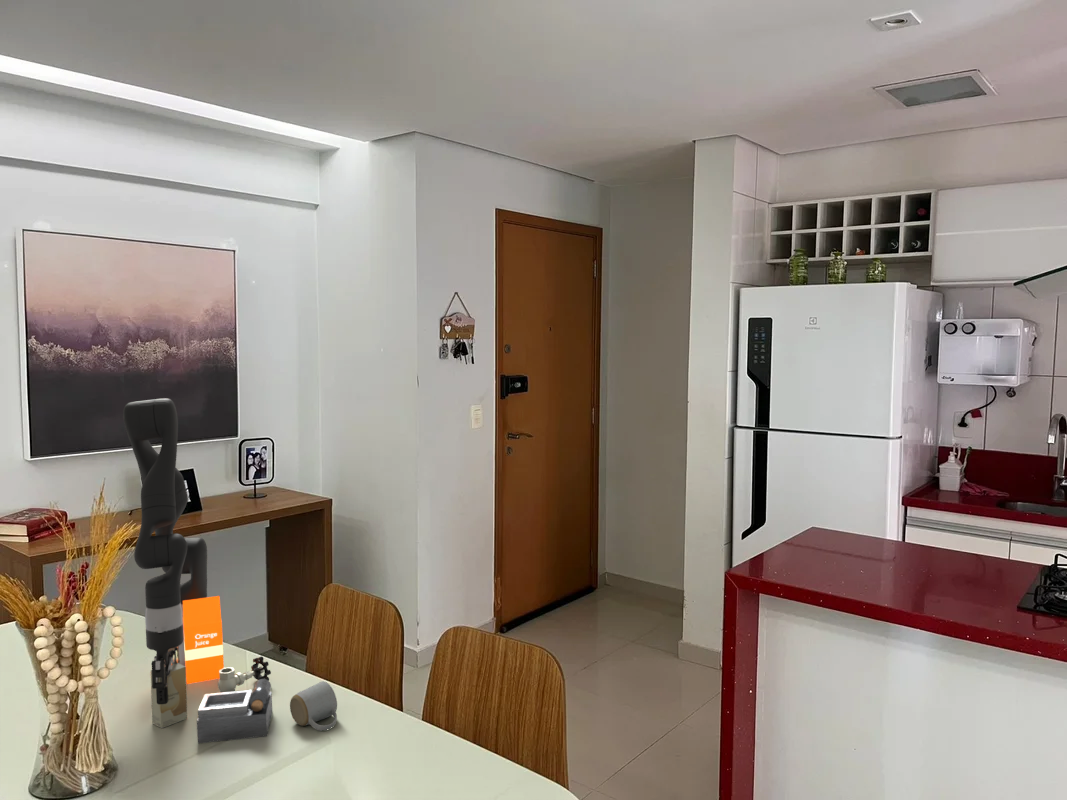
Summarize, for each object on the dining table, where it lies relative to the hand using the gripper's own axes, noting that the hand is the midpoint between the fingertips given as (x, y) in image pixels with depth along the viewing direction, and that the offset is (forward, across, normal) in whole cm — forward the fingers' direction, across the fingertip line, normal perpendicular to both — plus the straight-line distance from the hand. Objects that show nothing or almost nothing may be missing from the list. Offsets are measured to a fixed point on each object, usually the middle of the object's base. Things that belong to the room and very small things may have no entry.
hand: (167, 695), depth 182 cm
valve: (+6, -13, +14) cm, 20 cm away
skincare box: (+6, 0, 0) cm, 6 cm away
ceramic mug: (+6, +7, +33) cm, 34 cm away
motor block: (+6, +6, +15) cm, 18 cm away
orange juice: (+6, -24, +3) cm, 25 cm away
